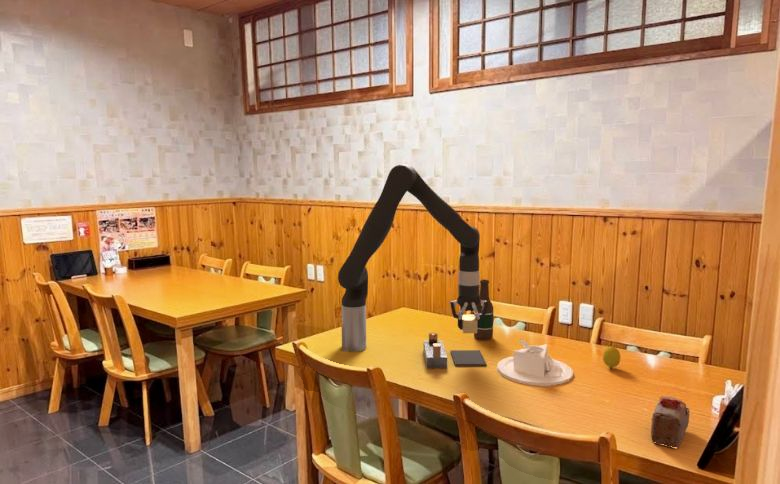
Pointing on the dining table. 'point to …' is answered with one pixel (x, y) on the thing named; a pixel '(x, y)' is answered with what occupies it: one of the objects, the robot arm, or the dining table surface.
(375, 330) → the dining table surface
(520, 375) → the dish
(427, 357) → the hand plane
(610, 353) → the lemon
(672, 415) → the food item
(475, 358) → the rubber mat
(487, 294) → the beer bottle
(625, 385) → the dining table surface
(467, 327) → the cream block
